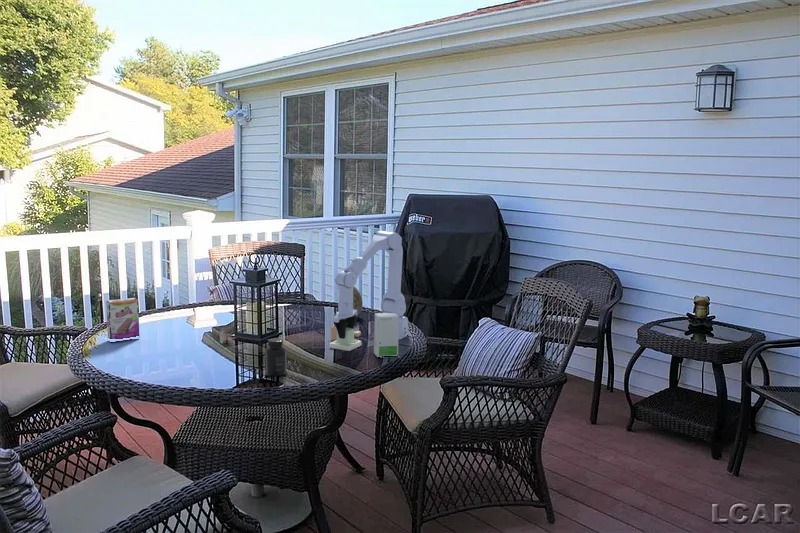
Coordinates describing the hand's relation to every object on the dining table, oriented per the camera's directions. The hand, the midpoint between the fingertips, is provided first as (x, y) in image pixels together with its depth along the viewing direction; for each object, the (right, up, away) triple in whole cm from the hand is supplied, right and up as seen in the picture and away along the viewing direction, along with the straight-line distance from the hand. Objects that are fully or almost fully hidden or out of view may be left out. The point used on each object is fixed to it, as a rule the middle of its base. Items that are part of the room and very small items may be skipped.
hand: (345, 336), depth 255 cm
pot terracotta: (-4, -2, +11) cm, 12 cm away
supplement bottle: (-21, -9, -33) cm, 40 cm away
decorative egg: (-2, +4, +48) cm, 48 cm away
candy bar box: (-89, -2, +5) cm, 89 cm away
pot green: (0, -3, 0) cm, 3 cm away
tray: (0, -4, +1) cm, 4 cm away
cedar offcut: (+2, -2, +17) cm, 17 cm away
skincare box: (+16, -6, -9) cm, 20 cm away
